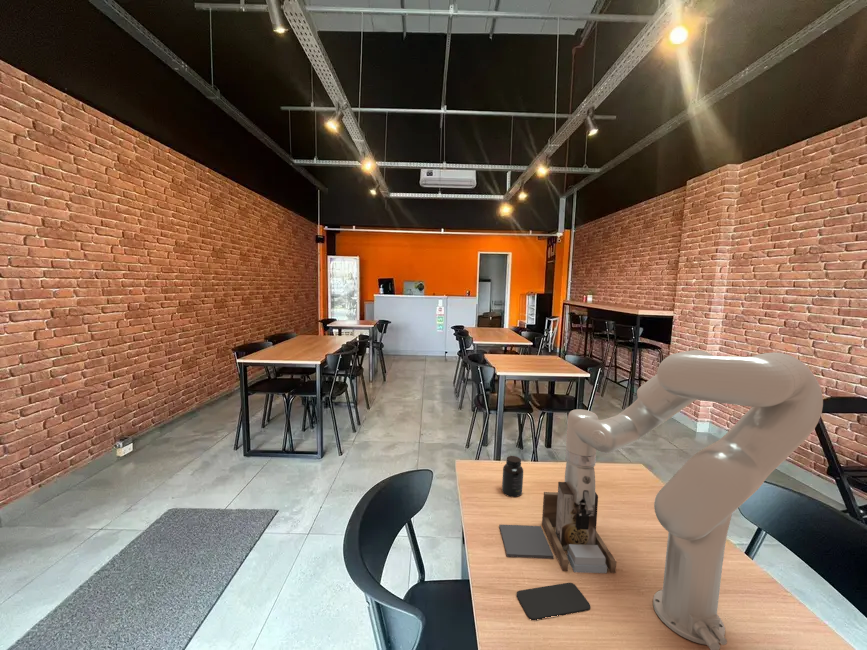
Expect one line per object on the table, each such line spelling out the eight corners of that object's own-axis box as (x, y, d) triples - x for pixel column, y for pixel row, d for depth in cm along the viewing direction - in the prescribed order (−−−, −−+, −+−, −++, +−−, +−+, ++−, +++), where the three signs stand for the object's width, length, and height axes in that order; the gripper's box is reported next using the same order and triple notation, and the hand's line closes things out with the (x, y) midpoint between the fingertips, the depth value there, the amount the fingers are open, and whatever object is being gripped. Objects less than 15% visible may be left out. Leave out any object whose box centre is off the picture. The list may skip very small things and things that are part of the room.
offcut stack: (606, 574, 90) (607, 559, 90) (574, 573, 90) (575, 558, 90) (597, 559, 95) (598, 544, 95) (566, 558, 95) (567, 543, 95)
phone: (593, 608, 79) (530, 619, 76) (592, 611, 79) (530, 623, 76) (572, 581, 87) (514, 590, 83) (572, 584, 87) (514, 594, 83)
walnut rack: (615, 572, 90) (618, 534, 89) (562, 570, 90) (565, 532, 89) (585, 525, 108) (588, 493, 107) (541, 523, 108) (543, 491, 107)
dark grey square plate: (553, 558, 94) (553, 555, 94) (507, 556, 94) (507, 554, 94) (540, 528, 106) (540, 526, 106) (499, 527, 106) (499, 524, 106)
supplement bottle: (497, 489, 127) (499, 455, 126) (513, 485, 130) (515, 452, 129) (509, 499, 121) (511, 464, 120) (526, 495, 124) (528, 461, 122)
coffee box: (587, 537, 103) (591, 483, 101) (595, 553, 97) (599, 496, 95) (554, 534, 104) (557, 480, 102) (559, 550, 97) (563, 493, 96)
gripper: (609, 473, 89) (604, 541, 91) (581, 443, 106) (577, 500, 108) (578, 472, 89) (573, 540, 91) (555, 442, 107) (552, 500, 108)
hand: (575, 518), depth 100 cm, fingers open, 7 cm apart
